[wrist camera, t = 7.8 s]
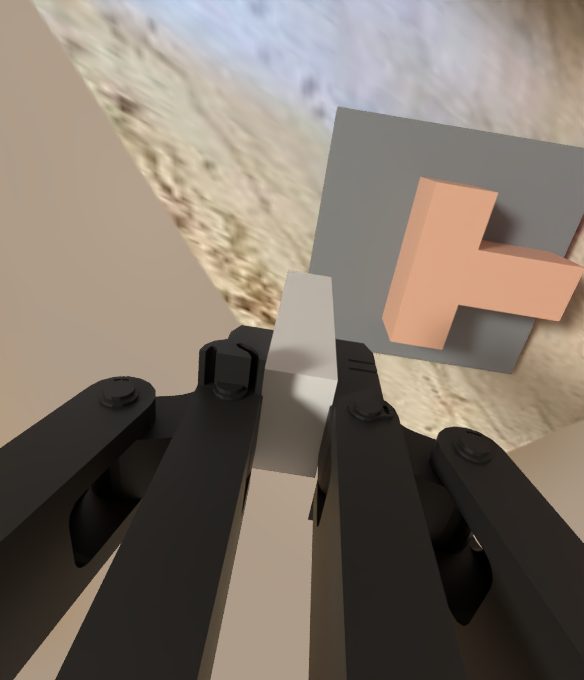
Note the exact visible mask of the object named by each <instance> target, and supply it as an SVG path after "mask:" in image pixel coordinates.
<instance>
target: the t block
mask: <svg viewBox="0 0 584 680" xmlns="http://www.w3.org/2000/svg"><path fill="white" fill-rule="evenodd" d="M497 195H498V192H494V191H491V190H487V189H484V188H480V187H477V186H473V185H467V184H461V183H455V182H449V181H443V180H438V179H432V178H426V177H420V180H419V184H418V188H417V191H416V195H415V199H414V202H413V206H412V210H411V213H410V217H409V221H408V224H407V228H406V232H405V235H404V239H403V243H402V246H401V250H400V254H399V257H398V261H397V265H396V268H395V272H394V276H393V279H392V283H391V287H390V290H389V294H388V298H387V301H386V305H385V309H384V312H383V316H382V320H383V322H384V325H385V328H386V331H387V333H388V336H389V339H390V341H391V342H397V343H403V344H409V345H415V346H421V347H427V348H434V349H440V350H442V349H443V346H444V344H445V341H446V338H447V335H448V332H449V330H450V327H451V324H452V321H453V318H454V316H455V313H456V310H457V307H458V305H463V306H469V307H475V308H481V309H487V310H493V311H499V312H506V313H512V314H518V315H524V316H530V317H536V318H542V319H548V320H554V321H560V319H561V317H562V315H563V313H564V311H565V309H566V307H567V305H568V303H569V300H570V298H571V296H572V294H573V292H574V290H575V288H576V286H577V284H578V282H579V280H580V278H581V276H582V274H583V272H584V267H582V266H580V265H578V264H576V263H574V262H571V261H569V260H567V259H565V258H563V257H561V256H559V255H557V254H555V253H552V252H550V251H544V250H538V249H532V248H526V247H520V246H514V245H508V244H502V243H496V242H490V241H484V240H482V237H483V235H484V232H485V229H486V226H487V223H488V221H489V218H490V215H491V212H492V209H493V207H494V204H495V201H496V198H497Z"/></svg>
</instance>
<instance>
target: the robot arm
mask: <svg viewBox="0 0 584 680" xmlns="http://www.w3.org/2000/svg"><path fill="white" fill-rule="evenodd" d="M317 467H318V480H317V484H316V488H315V493H314V497H313V501H312V505H311V510H310V514H309V518H308V519H309V520H313V542H312V578H311V580H312V581H311V613H310V614H311V615H310V652H309V680H584V543H583V542H582V541H581V540H580V538H578V536H577V535H576V534H575V533H574V531H573V530H572V529H571V528H570V527H569V526H568V525H567V523H566V522H565V521H564V520H563V519H562V518H561V517H560V515H559V514H558V513H557V512H556V511H555V509H554V508H553V507H552V506H551V505H550V504H549V502H548V501H547V500H546V499H545V498H544V497H543V496H542V494H541V493H540V492H539V491H538V490H537V489H536V487H535V486H534V485H533V484H532V483H531V482H530V480H529V479H528V478H527V477H526V476H525V475H524V474H523V472H522V471H521V470H520V469H519V468H518V467H517V465H516V464H515V463H514V462H513V461H512V460H511V458H510V457H509V456H508V455H507V454H506V453H505V451H504V450H503V449H502V448H501V447H500V446H498V445H497V444H496V443H495V442H494V441H493V440H491V439H490V438H488V437H486V436H485V435H483V434H481V433H479V432H477V431H474V430H471V429H468V428H462V427H449V428H445V429H443V430H442V431H441V432H439V434H438V436H437V439H436V440H435V439H432V438H430V437H427V436H424V435H422V434H419V433H416V432H414V431H412V430H410V429H407V428H406V427H404V426H402V425H401V424H400V420H399V417H398V415H397V413H396V411H395V409H394V408H393V407H392V406H391V405H390V404H389V403H387V402H386V401H384V400H383V395H382V391H381V386H380V382H379V378H378V374H377V369H376V365H375V360H374V356H373V353H372V352H371V351H370V349H369V348H368V347H367V346H366V345H365V344H364V343H359V342H353V341H346V340H340V339H335V328H334V311H333V295H332V279H331V277H328V276H322V275H315V274H309V273H303V272H297V271H290V270H288V274H287V278H286V283H285V287H284V291H283V295H282V299H281V303H280V307H279V311H278V316H277V320H276V324H275V328H274V330H269V329H263V328H257V327H250V326H244V325H241V326H240V327H238V328H236V329H235V330H233V331H232V332H231V333H230V335H229V337H228V339H225V340H217V341H213V342H211V343H208V344H206V345H204V346H203V347H202V348H201V349H200V351H199V372H198V386H197V388H196V390H195V391H194V392H191V393H188V394H184V395H176V396H159V397H155V389H154V388H153V386H152V385H151V384H150V383H149V382H146V381H144V380H143V379H140V378H135V377H129V376H127V377H124V376H123V377H112V378H109V379H105V380H101V381H99V382H97V383H95V384H93V385H91V386H89V387H88V388H86V389H85V390H83V391H82V392H80V393H79V394H78V395H76V396H75V397H73V398H72V399H70V400H69V401H67V402H66V403H65V404H63V405H62V406H60V407H59V408H57V409H56V410H54V411H53V412H52V413H50V414H49V415H47V416H46V417H44V418H43V419H42V420H40V421H39V422H37V423H36V424H34V425H33V426H31V427H30V428H29V429H27V430H26V431H24V432H23V433H21V434H20V435H19V436H17V437H16V438H14V439H13V440H11V441H10V442H8V443H7V444H6V445H4V446H3V447H2V448H0V680H13V679H14V678H15V677H16V676H17V674H18V673H19V672H20V670H21V669H22V668H23V667H24V665H25V664H26V663H27V661H28V660H29V659H30V658H31V656H32V655H33V654H34V652H35V651H36V650H37V649H38V648H39V646H40V645H41V644H42V642H43V641H44V640H45V639H46V637H47V636H48V635H49V634H50V632H51V631H52V630H53V629H54V627H55V626H56V625H57V623H58V622H59V621H60V620H61V618H62V617H63V616H64V615H65V613H66V612H67V611H68V609H69V608H70V607H71V606H72V604H73V603H74V602H75V601H76V599H77V598H78V597H79V596H80V594H81V593H82V592H83V590H84V589H85V588H86V587H87V585H88V584H89V583H90V582H91V580H92V579H93V578H94V576H95V575H96V574H97V573H98V571H99V570H100V569H101V568H102V566H103V565H104V564H105V563H106V561H107V560H108V559H109V558H110V556H111V555H112V554H113V552H114V551H115V550H116V549H117V547H118V546H119V544H121V545H120V547H119V549H118V551H117V553H116V555H115V557H114V559H113V562H112V564H111V565H110V568H109V570H108V572H107V574H106V576H105V578H104V580H103V582H102V584H101V586H100V588H99V590H98V592H97V594H96V596H95V598H94V601H93V603H92V605H91V607H90V609H89V611H88V613H87V615H86V617H85V619H84V621H83V623H82V625H81V627H80V630H79V632H78V634H77V636H76V638H75V640H74V642H73V644H72V646H71V648H70V650H69V652H68V654H67V656H66V658H65V660H64V663H63V665H62V667H61V669H60V671H59V673H58V675H57V677H56V679H55V680H210V678H211V673H212V668H213V663H214V658H215V653H216V648H217V643H218V638H219V633H220V628H221V623H222V619H223V614H224V608H225V604H226V599H227V594H228V589H229V584H230V579H231V574H232V568H233V564H234V559H235V554H236V549H237V544H238V539H239V534H240V529H241V524H242V519H243V515H244V510H245V505H246V500H247V495H248V490H249V484H250V476H251V469H252V468H256V469H262V470H269V471H275V472H281V473H288V474H294V475H300V476H307V477H313V478H315V476H316V471H317ZM473 534H474V535H475V537H476V539H477V540H478V542H479V543H480V545H481V546H482V548H483V549H482V548H481V547H480V546H479V544H478V543H477V542H476V540H475V538H474V537H473ZM121 542H122V543H121Z"/></svg>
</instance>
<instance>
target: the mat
mask: <svg viewBox="0 0 584 680" xmlns="http://www.w3.org/2000/svg"><path fill="white" fill-rule="evenodd" d="M420 177H426V178H432V179H438V180H443V181H449V182H455V183H461V184H467V185H473V186H477V187H480V188H484V189H487V190H491V191H494V192H498V195H497V198H496V201H495V204H494V207H493V209H492V212H491V215H490V218H489V221H488V223H487V226H486V229H485V232H484V235H483V237H482V240H484V241H490V242H496V243H502V244H508V245H514V246H520V247H526V248H532V249H538V250H544V251H550V252H552V253H555V254H557V255H559V256H561V257H563V258H564V256H565V254H566V252H567V249H568V247H569V245H570V243H571V241H572V238H573V236H574V234H575V232H576V230H577V227H578V225H579V223H580V221H581V218H582V216H583V214H584V148H580V147H574V146H568V145H562V144H556V143H550V142H544V141H538V140H532V139H526V138H520V137H514V136H509V135H503V134H497V133H491V132H485V131H479V130H473V129H467V128H461V127H455V126H449V125H443V124H437V123H431V122H425V121H420V120H414V119H408V118H402V117H396V116H390V115H384V114H378V113H372V112H366V111H360V110H354V109H348V108H342V107H338V108H337V112H336V118H335V124H334V130H333V135H332V141H331V147H330V153H329V158H328V164H327V170H326V176H325V182H324V187H323V193H322V199H321V205H320V210H319V216H318V222H317V228H316V233H315V239H314V245H313V251H312V257H311V262H310V268H309V274H315V275H322V276H328V277H331V279H332V295H333V311H334V328H335V339H340V340H346V341H353V342H359V343H364V344H365V345H366V346H367V347H368V348H369V349H370V351H371V352H375V353H382V354H388V355H394V356H400V357H407V358H413V359H419V360H425V361H432V362H438V363H444V364H450V365H457V366H463V367H469V368H475V369H482V370H488V371H494V372H500V373H507V374H511V373H512V371H513V369H514V367H515V364H516V362H517V360H518V358H519V356H520V353H521V351H522V349H523V347H524V345H525V342H526V340H527V338H528V336H529V333H530V331H531V329H532V327H533V325H534V322H535V320H536V317H530V316H524V315H518V314H512V313H506V312H499V311H493V310H487V309H481V308H475V307H469V306H463V305H458V307H457V310H456V313H455V316H454V318H453V321H452V324H451V327H450V330H449V332H448V335H447V338H446V341H445V344H444V346H443V349H442V350H440V349H434V348H427V347H421V346H415V345H409V344H403V343H397V342H391V341H390V339H389V336H388V333H387V331H386V328H385V325H384V322H383V320H382V316H383V312H384V309H385V305H386V301H387V298H388V294H389V290H390V287H391V283H392V279H393V276H394V272H395V268H396V265H397V261H398V257H399V254H400V250H401V246H402V243H403V239H404V235H405V232H406V228H407V224H408V221H409V217H410V213H411V210H412V206H413V202H414V199H415V195H416V191H417V188H418V184H419V180H420Z"/></svg>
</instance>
